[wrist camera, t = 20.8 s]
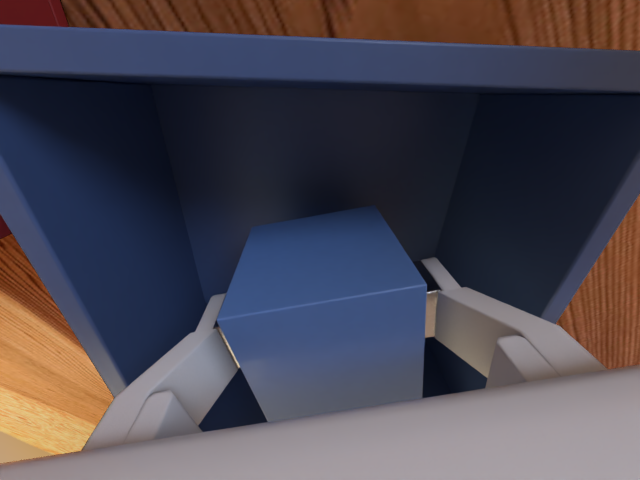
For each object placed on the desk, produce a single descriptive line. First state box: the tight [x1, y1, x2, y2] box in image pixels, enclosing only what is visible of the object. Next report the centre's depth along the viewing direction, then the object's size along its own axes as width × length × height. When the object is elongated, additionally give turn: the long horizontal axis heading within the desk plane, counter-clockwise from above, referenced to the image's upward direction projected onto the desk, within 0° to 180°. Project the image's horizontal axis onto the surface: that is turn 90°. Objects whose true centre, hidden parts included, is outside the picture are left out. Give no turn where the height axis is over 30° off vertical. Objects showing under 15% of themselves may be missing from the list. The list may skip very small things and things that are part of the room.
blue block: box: [217, 205, 427, 422], centre depth 8 cm, size 4×4×4 cm
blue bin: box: [0, 24, 640, 432], centre depth 10 cm, size 13×13×6 cm
